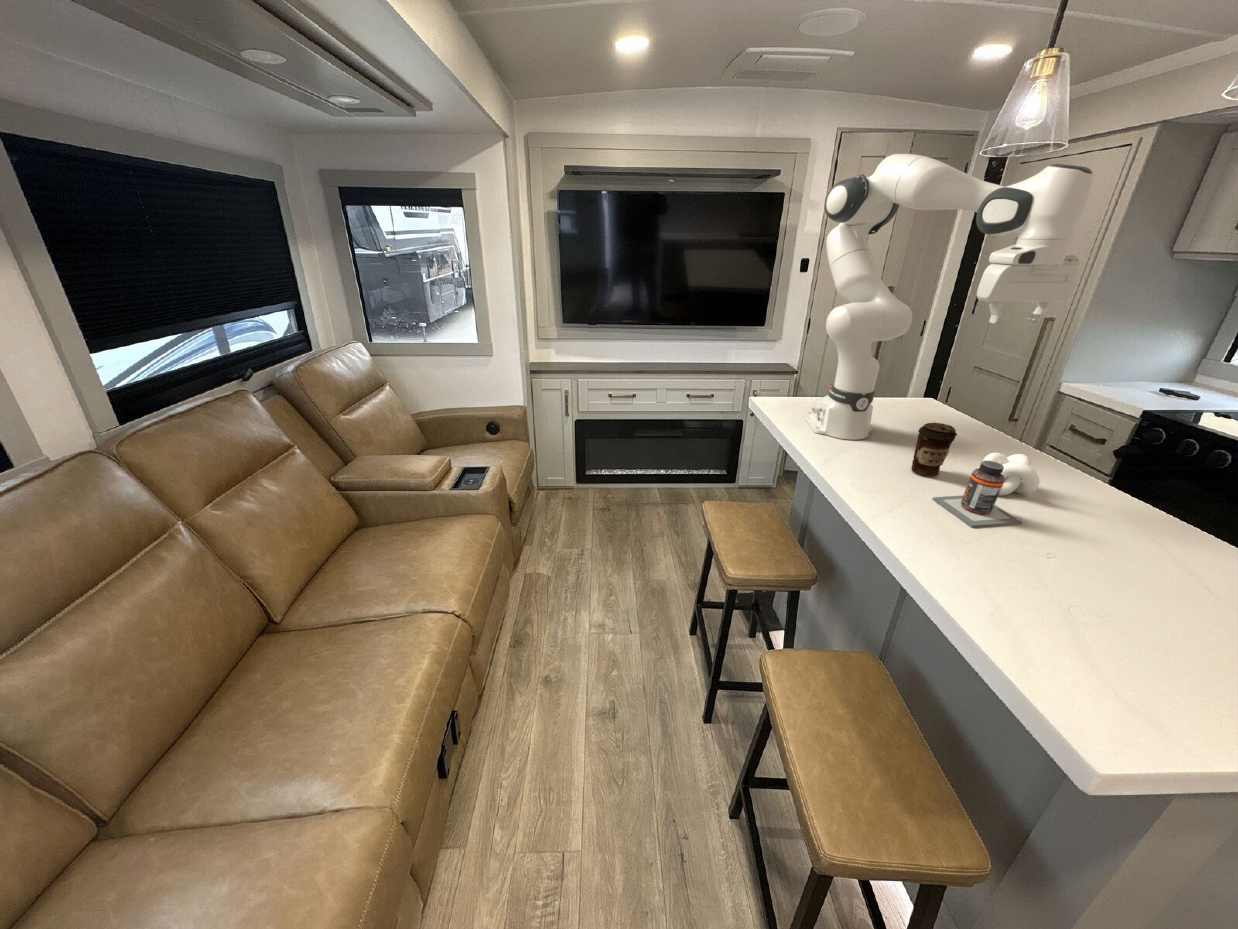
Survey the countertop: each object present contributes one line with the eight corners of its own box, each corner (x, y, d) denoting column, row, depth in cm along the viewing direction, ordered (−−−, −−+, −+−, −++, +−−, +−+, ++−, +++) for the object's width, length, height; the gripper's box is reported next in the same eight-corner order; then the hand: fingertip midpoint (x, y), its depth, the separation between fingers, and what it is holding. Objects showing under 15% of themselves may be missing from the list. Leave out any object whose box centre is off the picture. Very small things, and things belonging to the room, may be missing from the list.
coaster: (932, 499, 115) (933, 497, 114) (977, 496, 116) (978, 494, 116) (971, 527, 104) (972, 525, 104) (1021, 524, 106) (1022, 521, 105)
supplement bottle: (958, 499, 114) (974, 456, 108) (988, 505, 111) (1007, 461, 106) (961, 511, 109) (978, 466, 104) (993, 518, 106) (1012, 472, 101)
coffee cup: (948, 482, 123) (965, 434, 117) (913, 478, 124) (928, 431, 118) (935, 467, 130) (951, 421, 125) (902, 463, 132) (915, 419, 126)
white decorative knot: (969, 473, 127) (981, 442, 123) (1025, 484, 122) (1039, 452, 118) (973, 492, 118) (986, 459, 114) (1034, 505, 113) (1050, 471, 109)
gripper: (1067, 254, 105) (1042, 319, 111) (983, 253, 102) (962, 320, 109) (1097, 255, 99) (1068, 324, 106) (1008, 255, 97) (984, 326, 103)
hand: (1013, 322), depth 107 cm, fingers open, 8 cm apart
